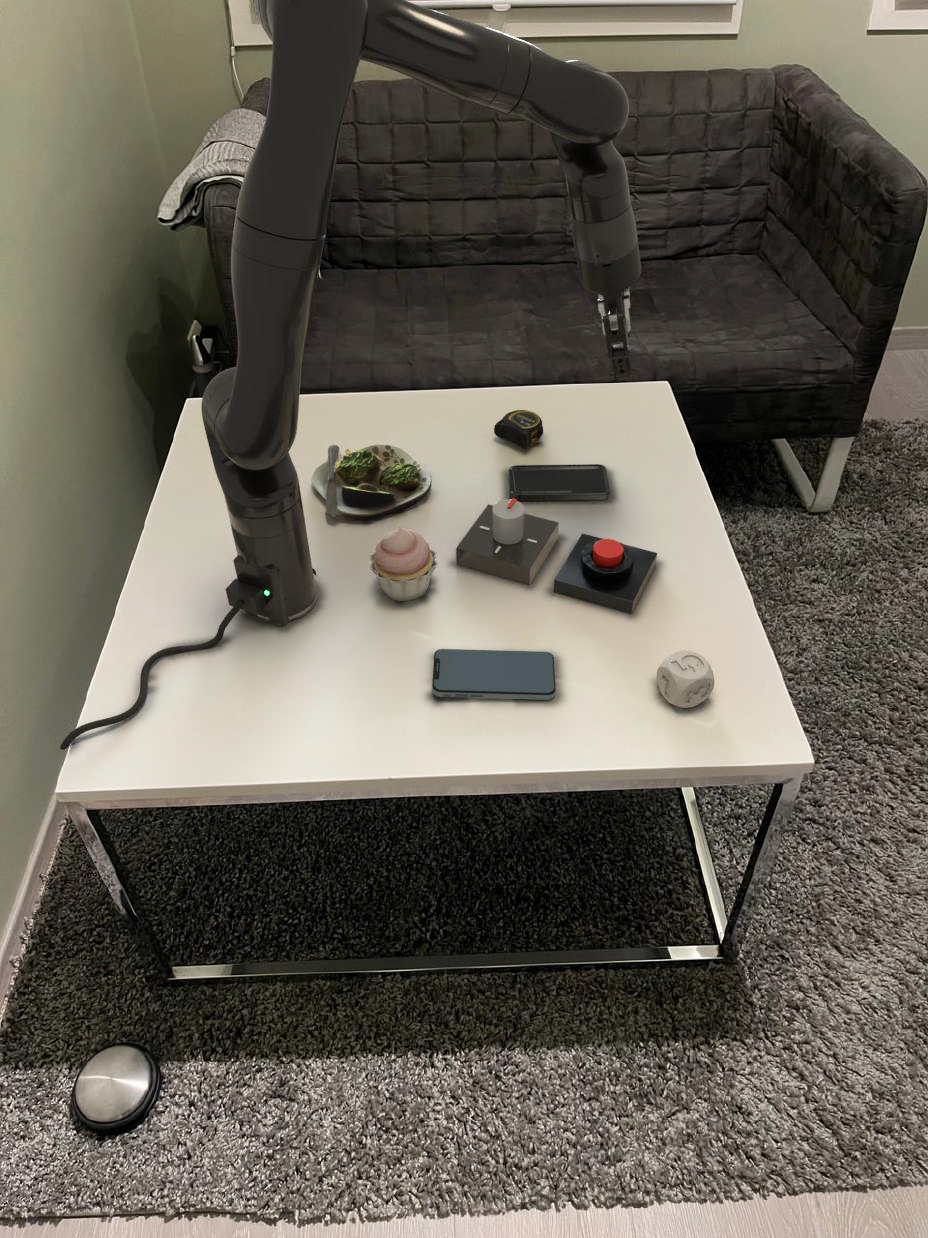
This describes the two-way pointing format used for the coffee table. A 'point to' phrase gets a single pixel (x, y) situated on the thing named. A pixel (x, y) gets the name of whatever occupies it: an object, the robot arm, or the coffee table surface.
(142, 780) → the coffee table surface
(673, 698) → the die
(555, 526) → the hob panel
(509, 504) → the hob knob
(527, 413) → the tape measure
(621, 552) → the button
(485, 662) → the smartphone
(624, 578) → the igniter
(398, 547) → the cupcake
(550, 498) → the phone
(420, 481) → the salad plate
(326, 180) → the robot arm
